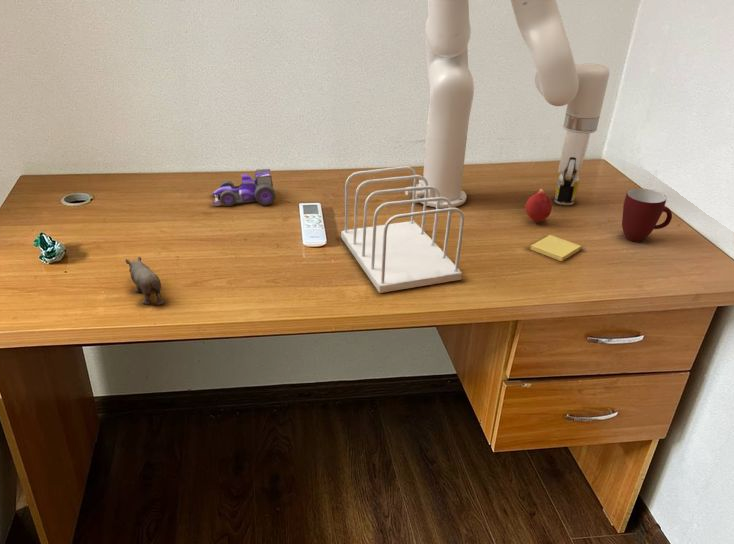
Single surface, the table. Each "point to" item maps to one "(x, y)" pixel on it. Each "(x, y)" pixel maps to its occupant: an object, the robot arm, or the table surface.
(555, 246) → the sticky note pad
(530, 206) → the onion
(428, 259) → the file sorter
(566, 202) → the supplement bottle
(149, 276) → the rhino figurine
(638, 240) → the mug
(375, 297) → the table surface
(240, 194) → the toy race car
